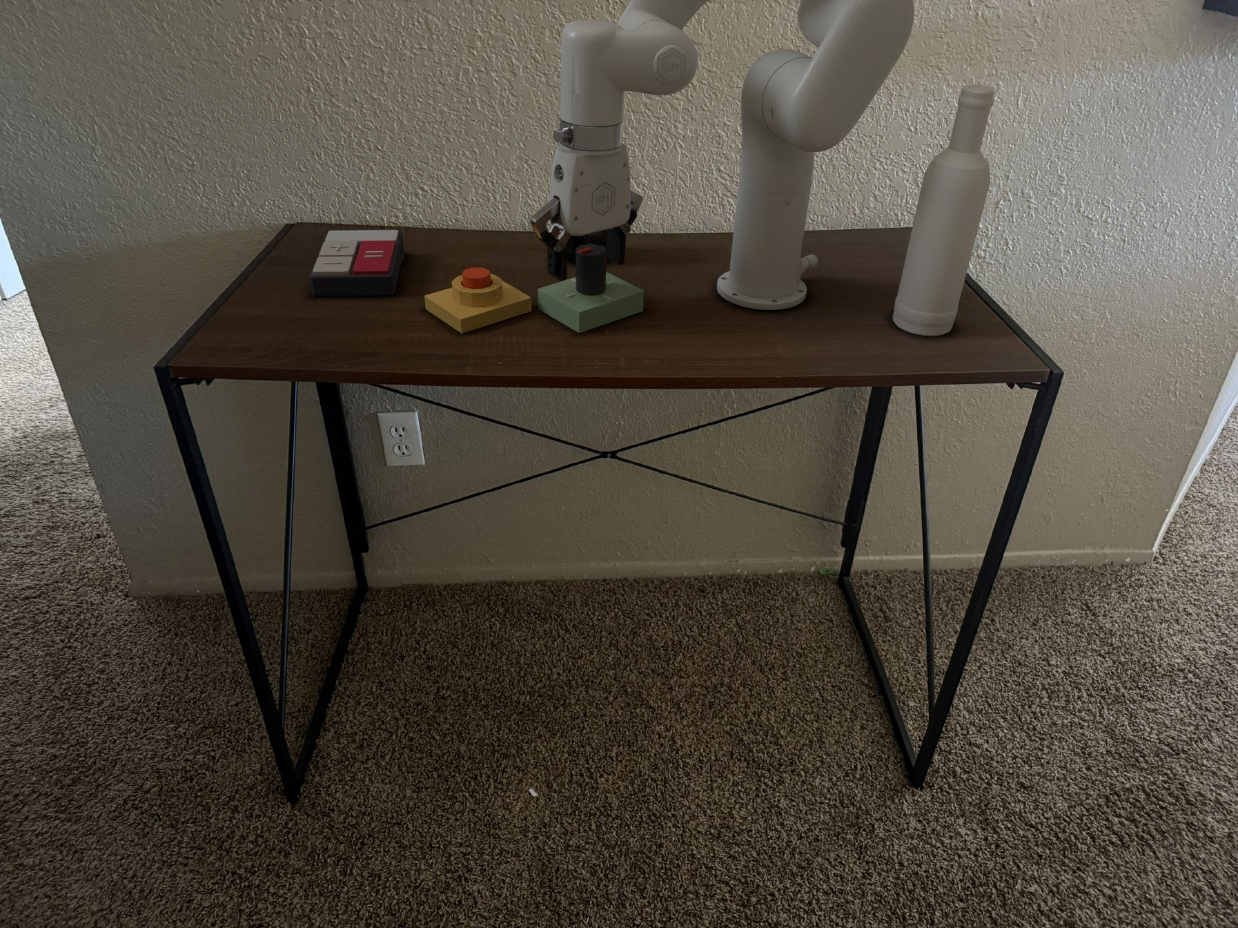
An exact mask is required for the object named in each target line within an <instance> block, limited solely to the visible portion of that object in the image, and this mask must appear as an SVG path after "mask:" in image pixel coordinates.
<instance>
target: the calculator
mask: <svg viewBox="0 0 1238 928" xmlns="http://www.w3.org/2000/svg"><path fill="white" fill-rule="evenodd" d="M403 238H404V237H403V232H402V231H400V230H398V229H366V230H365V229H359V230H358V229H357V230H355V229H354V230H353V229H352V230H341V229H340V230H329V231H327V232H326V233H325V235H324V238H323V240H322V242H321V246H320V248H319V251H318V253H317V255H316V258H315V260H314V263H313V266H312V269H311V270H310V273H309V276H308V278H309V282H310V287H311V292H312V296H313V297H356V296H357V297H363V296H365V297H366V296H367V297H368V296H369V297H370V296H372V297H373V296H393V295H395V292H396V288H397V284H398V279H399V274H400V271H401V266H402V264H403V263H404V258H405V244H404V239H403Z"/></svg>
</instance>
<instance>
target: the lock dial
mask: <svg viewBox="0 0 1238 928" xmlns="http://www.w3.org/2000/svg"><path fill="white" fill-rule="evenodd" d="M606 257H607V250H606V248H605V247H603V246H600V245H595V244H587V245H581V246H579V247H577V248H576V264H575V277H576V291H577V292H579V293H581V294H584V295H599V294H602V293H604V292H605V290H606V272H607V258H606Z"/></svg>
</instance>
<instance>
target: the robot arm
mask: <svg viewBox="0 0 1238 928" xmlns="http://www.w3.org/2000/svg"><path fill="white" fill-rule="evenodd" d="M709 1H710V0H630V1H629V3H628V5H627V6H626V8H625V9H624V11H623V12H622V14H621V15H620V17H619V18H618V21H617V23H616V22H613V21H608V20H600V19H578V20H573V21H570V22H568V23H567V24H565V25H564V27H563V29H562V30H561V36H560V37H561V38H560V88H559V89H560V94H559V99H560V100H559V129H558V130H554V131H553V135H552V136H553V140H554V141H555V142H556V143H559V146H556V147H555V151H554V156H553V161H552V168H551V172H550V173H551V174H550V184H549V197H548V198H549V200H548V202H547V203H546V204H545V205H543V206H542V207H541V208H540V209H539V210H537V211H536V212H535V213H534V214H533V215H531V217H530V218H529V222H530V225H531V227H532V229H533V231H534V232H535V237H536V238H538V240H539V241H541V242H542V244H543V245H544V246H546V248H547V249H546V263H547V264H546V268H547V273H548V274H549V276H551V277H553V278H555V279H557V280H558V281H559V282H562V281H565V280H567V278H568V277H567V276H568V261H567V251H565V250H563V248H564V246H565V245H566V243H567V241H568V240H569V238H570V236H571V235H573V236H582V235H587V234H591V233H595V232H599V231H603V230H607V240H606V250H607V257H606V260H609V261H611V262H613V263H615V264H616V265H619V266H620V265H621V266H622V265H624V264H625V258H626V242H627V235H629V234H630V233H631V231H632V228H631V226H632V225H633V223H634V222H635V221H636V220H637V218H638V212H639V210H640V208H641V205H642V203H643V200H644V196H642V195H641V194H639V193H637V192H634V191H633V190H632V187H631V166H630V160H629V153H628V152H629V151H628V148H627V145H626V144H625V143H623V123H624V107H625V106H624V105H625V104H624V102H625V92H632V93H638V94H644V95H651V96H660V97H661V96H671V95H674V94H676V93H680V92H681V91H683V90H684V89H685V88H686V87H688V85H690V84H691V82H692V81H693V79H694V78H695V76H696V74H697V70H698V66H699V65H698V64H699V57H698V56H699V55H698V51H697V48H696V46H695V44H694V42H693V40H692V39H691V37H690V36H689V35H688V34H687V33H686V32H684V31H683V30H684V29H685V27H686V26H687V24H688V23H689V22H690V21H691V20H692V18H693V17H694V16H695V15H696V14H697V12H698V11H700V9H701V8H702V7H703V6H704V5H706V4H707V3H708V2H709ZM914 5H915V3H914V0H801V1H800V3H799V6H798V10H797V25H798V29H799V31H800V33H801V34H802V36H803V37H804V38H805V40H806V41H808V42H809V43H810V44H812V45H813V46H815V47H817V50H816V51H815V52H814V54H813V56H811V55H808V54H805V53H803V52H801V51H798V50H795V49H790V48H789V49H787V48H783V49H782V48H779V49H775V50H771V51H769V52H766V53H764V54H762V55H761V56H760V57H759V58H758V59H756V60H755V61H754V62H753V64H752V65H751V66H750V68H749V70H748V71H747V73H746V75H745V78H744V81H743V84H742V88H741V93H740V94H741V95H740V97H741V98H740V116H741V119H740V121H741V152H740V153H741V154H740V155H741V156H740V168H739V177H738V183H737V195H736V205H735V213H734V222H733V233H732V241H731V242H732V243H731V252H730V254H731V255H730V261H729V270H728V271H725V272H724V273H722V274H721V275H720V276H719V277H718V278H717V283H716V290H717V293H718V294H719V295H720V296H721V298H723V299H724V300H725V301H727V302H729V303H731V304H734V305H736V306H739V307H743V308H745V309H751V310H761V311H778V310H785V309H786V310H787V309H790V308H793V307H796V306H798V305H800V304H801V303H803V302H804V301H805V299H806V297H807V291H808V288H807V286H806V283H805V282H804V281H803V280H802V279H801V276H802V275H803V274H804V273H805V272H806V271H808V270H811V269H814V268H816V267H817V266H818V265H819V259H818V257H817V255H815V254H814V253H813V254H809V255H806V256H803V257H801V256H802V250H803V243H804V237H805V230H806V222H807V216H808V210H809V202H810V196H811V188H812V185H813V177H814V172H815V171H814V169H815V168H814V167H815V153H822V152H825V151H828V150H830V149H832V148H834V147H836V146H837V145H838V144H840V143H841V142H842V141H843V140H844V139H845V138H847V136H848V135H849V134H850V133H851V131H852V130H853V129H854V127H855V126H856V125H857V123H859V121H860V120H861V118H862V116H863V114H864V113H865V111H866V110H867V109H868V107H869V105H870V104H871V102H872V101H873V99H874V98H875V96H876V95H877V93H878V92H879V90H880V88H881V87H882V85H883V84H884V82H885V80H886V79H887V78H888V76H889V75H890V73H891V72H892V70H893V68H894V67H895V65H896V64H897V62H898V60H899V59H900V57H901V55H902V54H903V52H904V50H905V49H906V46H907V44H908V42H909V39H910V36H911V35H912V30H913V26H914V21H915V6H914ZM548 222H550V225H551V226H550V227H549V229H548V226H547V224H548Z"/></svg>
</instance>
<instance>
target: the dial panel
mask: <svg viewBox="0 0 1238 928" xmlns="http://www.w3.org/2000/svg"><path fill="white" fill-rule="evenodd" d="M644 295H645V290H643V289H642V288H640V287H638V286H636V285H634V284H631V283H630V282H628V281H626V280H623V279H621V278H620V277H617V276H615V275H613V274H611V273H610V272H608V271H606V290H605V292H604V293H602V294H599V295H584V294H581V293H579V292H577V291H576V276H575V277H571V278H569V279H566V280H564V281H559V282H555V283H552V284H549V285H545V286H542V287H539V288H537V309H538V311H540V312H542V313H543V314H546V315H548V316H549V317H551V319H555V321H558V322H559V323H561V324H563V325H564V326H566V327H568V328H569V329H571V330H573V331H575V332H576V333H578V334H581V333H584V332H587V331H591V330H592V329H596V328H599V327H601V326H604V325H608V324H610V323H612V322H615V321H618V320H622V319H624V318H627V317H630V316H633V315H636V314H639V313H641V312H644V298H645V296H644Z"/></svg>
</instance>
